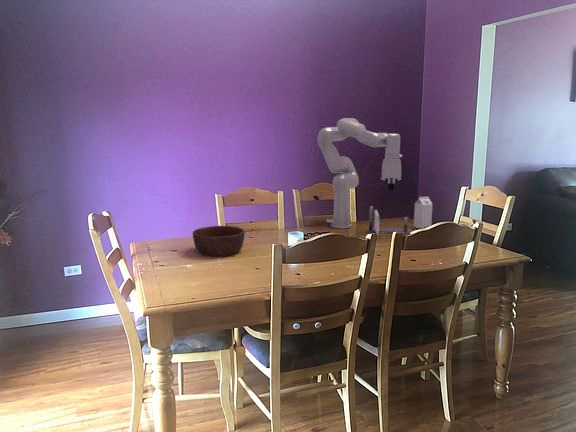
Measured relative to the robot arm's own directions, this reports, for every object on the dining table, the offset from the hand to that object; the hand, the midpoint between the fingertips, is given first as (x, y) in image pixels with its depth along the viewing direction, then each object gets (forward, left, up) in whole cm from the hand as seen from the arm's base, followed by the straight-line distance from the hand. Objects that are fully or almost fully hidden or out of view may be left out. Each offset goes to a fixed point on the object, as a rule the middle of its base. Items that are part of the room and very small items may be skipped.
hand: (390, 190), depth 273 cm
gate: (-7, +1, -23) cm, 24 cm away
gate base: (+1, +9, -25) cm, 27 cm away
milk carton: (+19, +21, -25) cm, 38 cm away
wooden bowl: (-81, -51, -25) cm, 99 cm away
